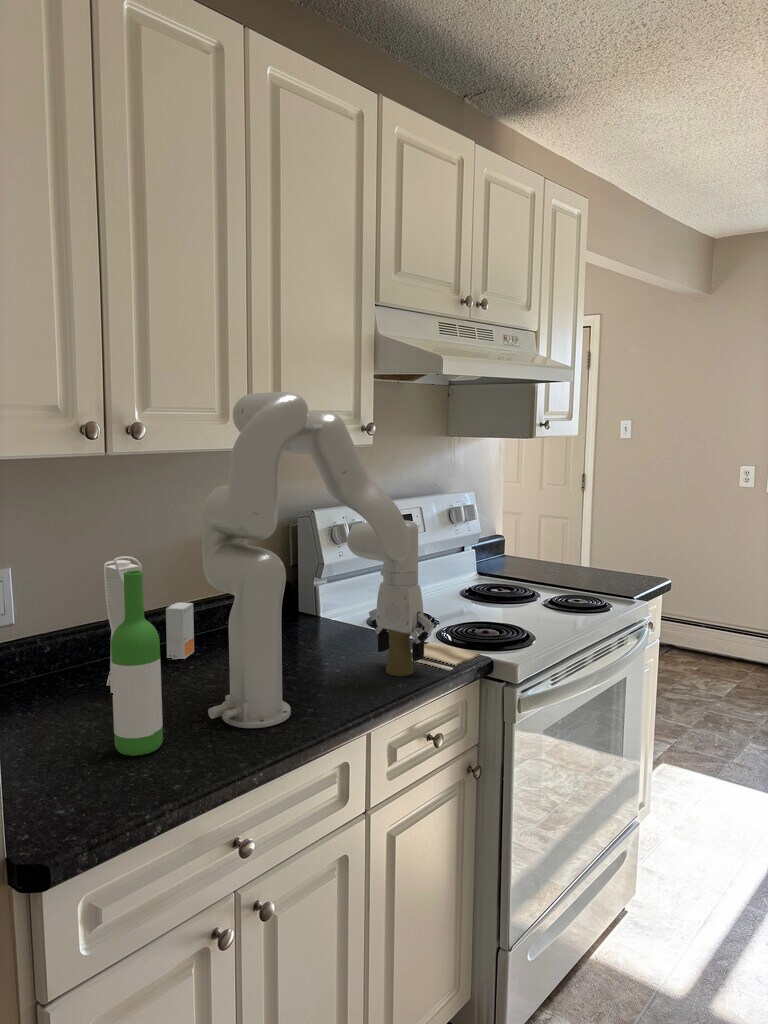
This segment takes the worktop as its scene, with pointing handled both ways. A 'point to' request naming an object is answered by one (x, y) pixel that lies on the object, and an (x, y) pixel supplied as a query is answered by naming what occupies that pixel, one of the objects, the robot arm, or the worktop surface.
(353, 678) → the worktop surface
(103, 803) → the worktop surface
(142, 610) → the wine bottle
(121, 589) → the skyscraper
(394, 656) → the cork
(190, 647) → the skincare box
